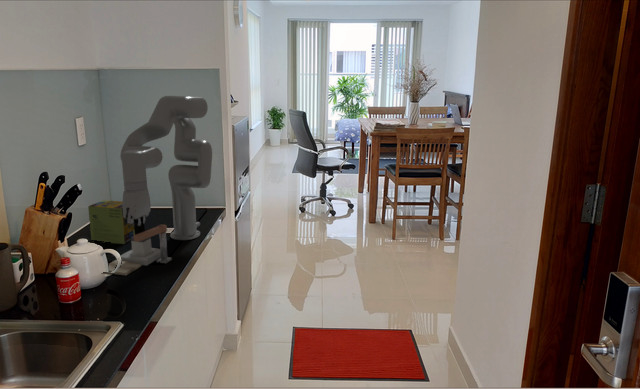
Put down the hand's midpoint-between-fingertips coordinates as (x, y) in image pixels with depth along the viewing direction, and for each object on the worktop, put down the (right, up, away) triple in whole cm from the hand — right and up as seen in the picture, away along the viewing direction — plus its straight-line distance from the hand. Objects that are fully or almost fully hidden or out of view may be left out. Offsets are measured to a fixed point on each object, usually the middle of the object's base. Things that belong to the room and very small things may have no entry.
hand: (140, 234), depth 171 cm
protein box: (-23, -5, +32) cm, 39 cm away
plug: (-4, -10, +12) cm, 16 cm away
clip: (+4, 0, +1) cm, 4 cm away
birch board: (-8, -13, +1) cm, 15 cm away
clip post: (+6, -11, +9) cm, 15 cm away
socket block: (-4, -10, +12) cm, 16 cm away
